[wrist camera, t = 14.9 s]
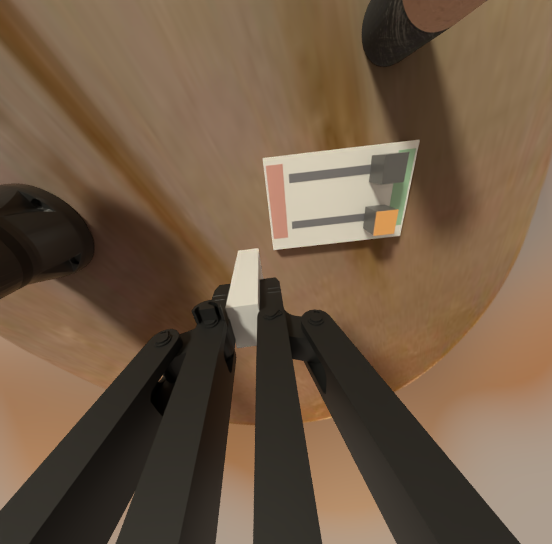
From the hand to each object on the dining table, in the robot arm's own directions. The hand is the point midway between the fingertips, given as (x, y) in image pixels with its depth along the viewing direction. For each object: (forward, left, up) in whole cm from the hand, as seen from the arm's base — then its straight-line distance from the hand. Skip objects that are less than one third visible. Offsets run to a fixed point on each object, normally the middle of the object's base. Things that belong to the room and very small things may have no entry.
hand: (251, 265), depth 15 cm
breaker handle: (+18, -3, -18) cm, 26 cm away
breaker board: (+13, 0, -21) cm, 24 cm away
